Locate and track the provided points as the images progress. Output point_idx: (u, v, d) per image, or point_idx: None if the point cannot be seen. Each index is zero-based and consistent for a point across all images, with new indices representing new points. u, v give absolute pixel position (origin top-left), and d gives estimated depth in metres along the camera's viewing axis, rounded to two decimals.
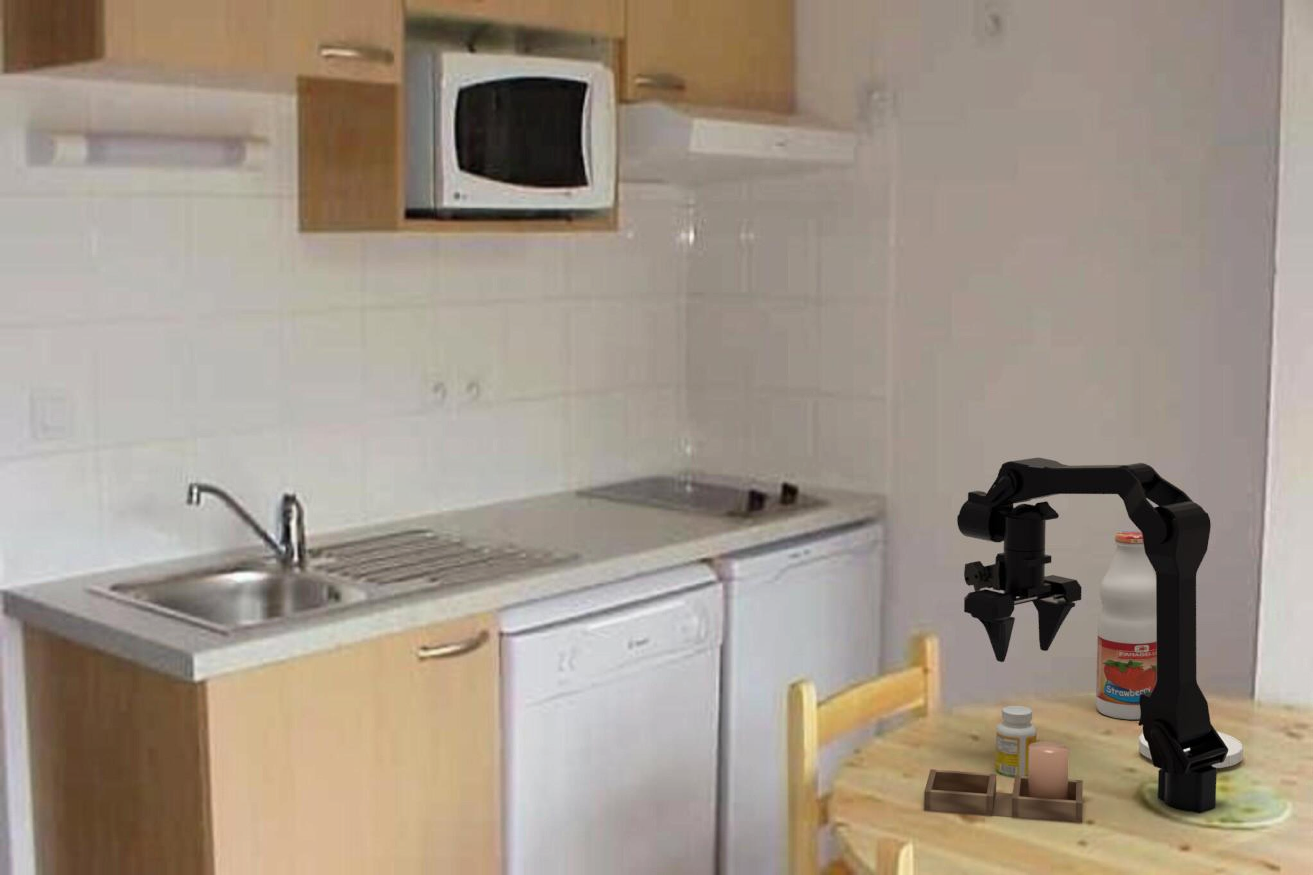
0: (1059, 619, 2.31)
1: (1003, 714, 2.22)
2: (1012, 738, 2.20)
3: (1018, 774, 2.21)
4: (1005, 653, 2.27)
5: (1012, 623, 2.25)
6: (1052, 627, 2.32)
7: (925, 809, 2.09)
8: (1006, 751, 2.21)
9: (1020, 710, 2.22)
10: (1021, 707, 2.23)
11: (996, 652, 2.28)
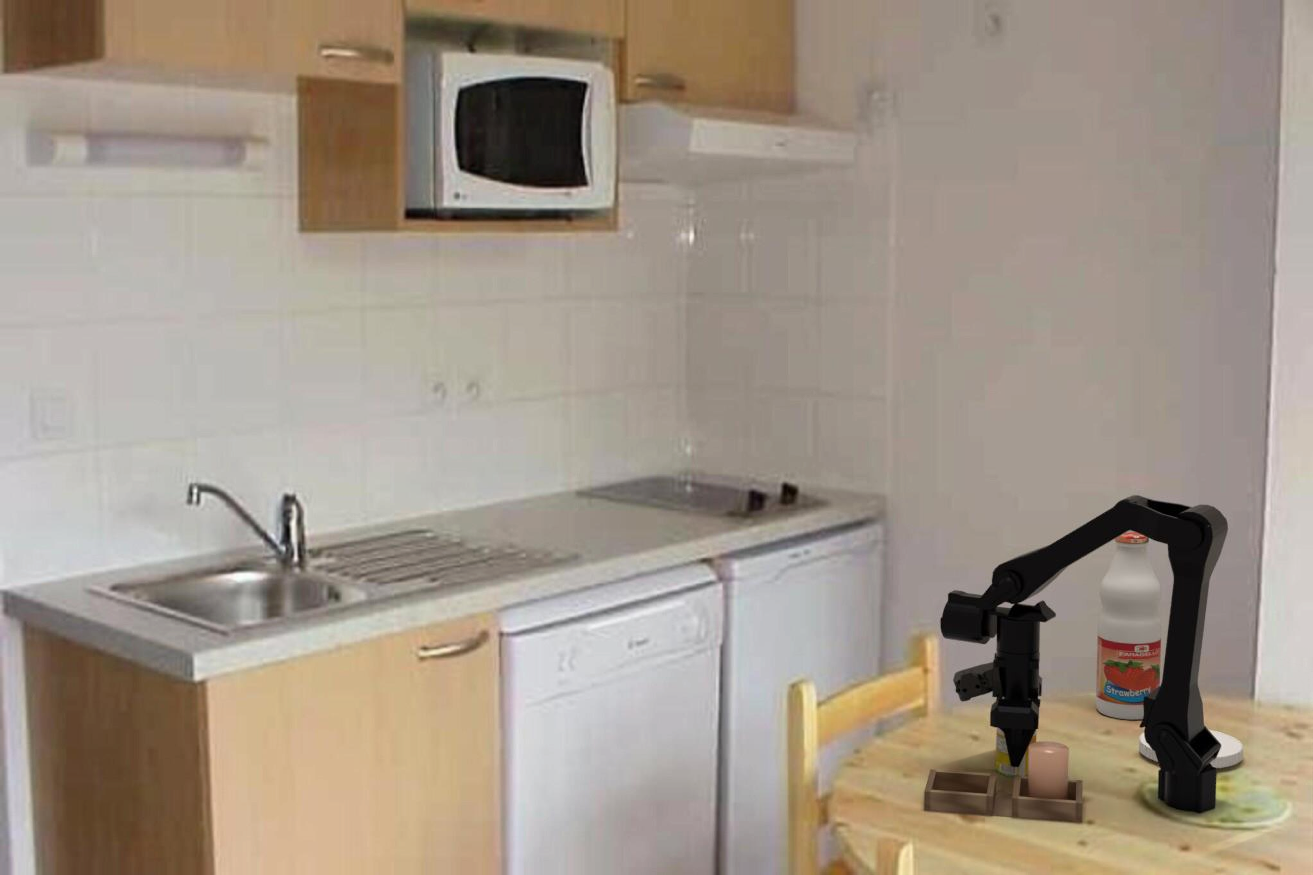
0: None
1: None
2: None
3: (1018, 774, 2.21)
4: (1022, 757, 2.20)
5: None
6: None
7: (925, 809, 2.09)
8: (1006, 751, 2.21)
9: None
10: None
11: (1013, 758, 2.20)
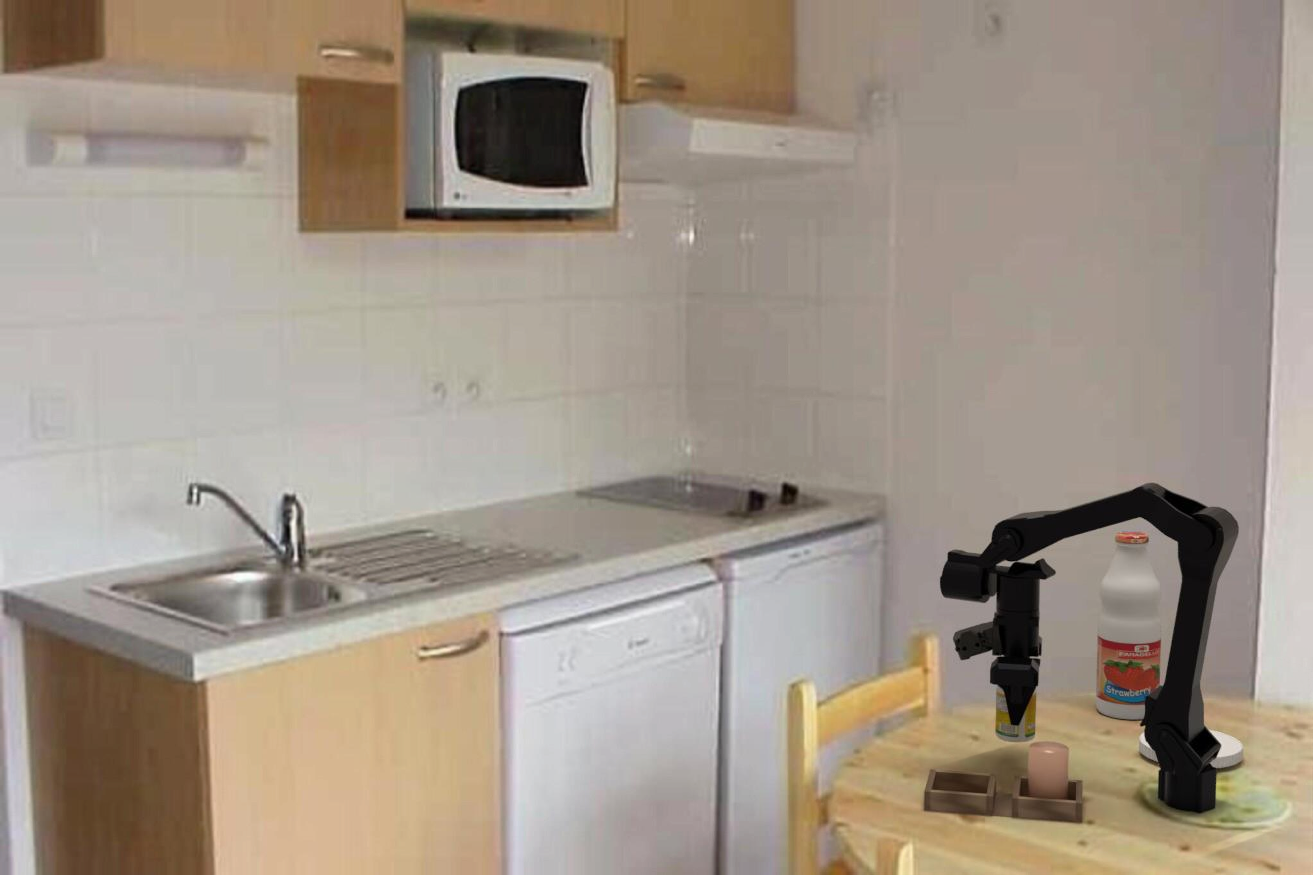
0: None
1: None
2: None
3: (1018, 733, 2.20)
4: (1022, 716, 2.19)
5: None
6: None
7: (925, 809, 2.09)
8: (1005, 710, 2.20)
9: None
10: None
11: (1013, 716, 2.19)
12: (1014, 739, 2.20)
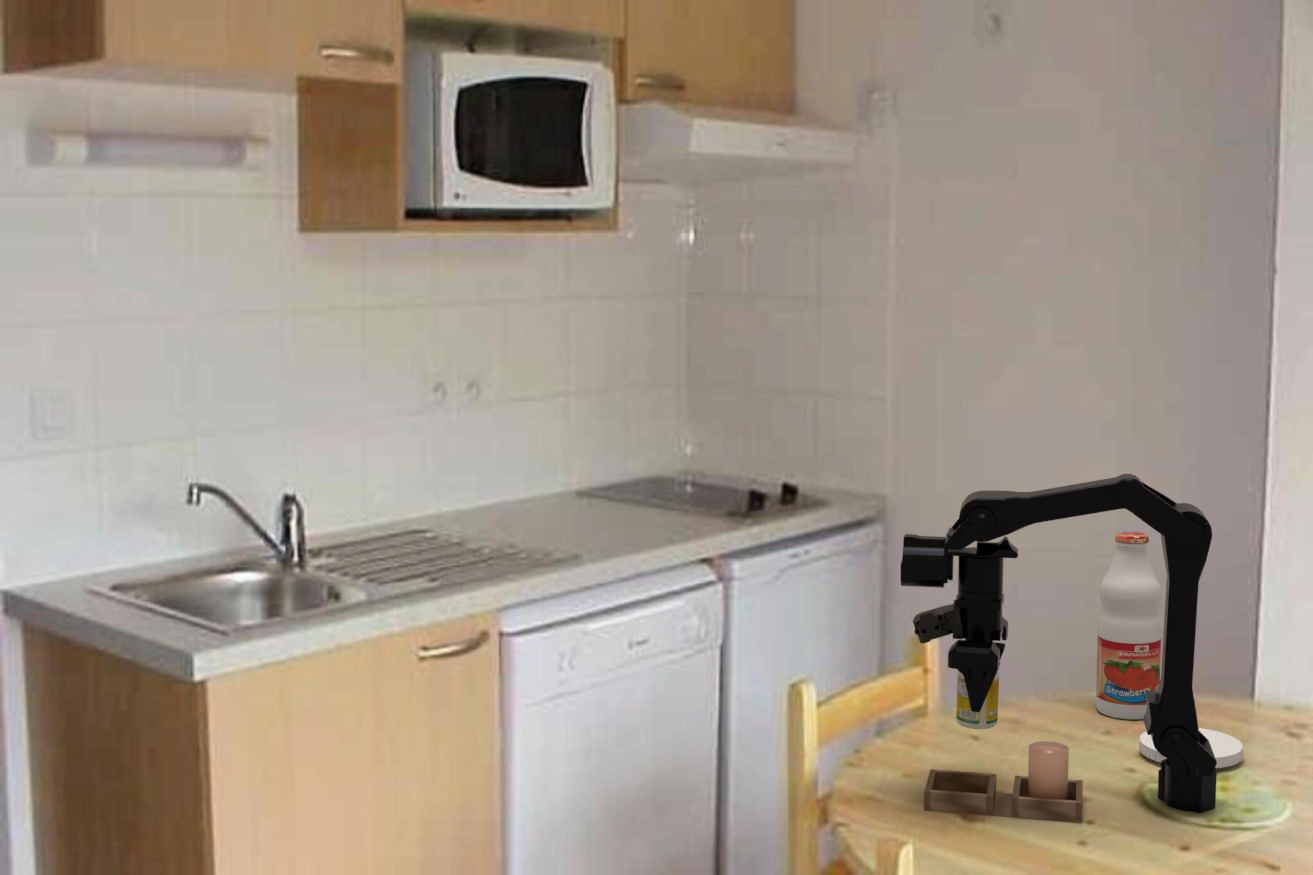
0: None
1: None
2: None
3: (979, 719, 2.12)
4: (983, 702, 2.11)
5: None
6: None
7: (925, 809, 2.09)
8: (966, 695, 2.12)
9: None
10: None
11: (973, 702, 2.11)
12: (975, 726, 2.12)
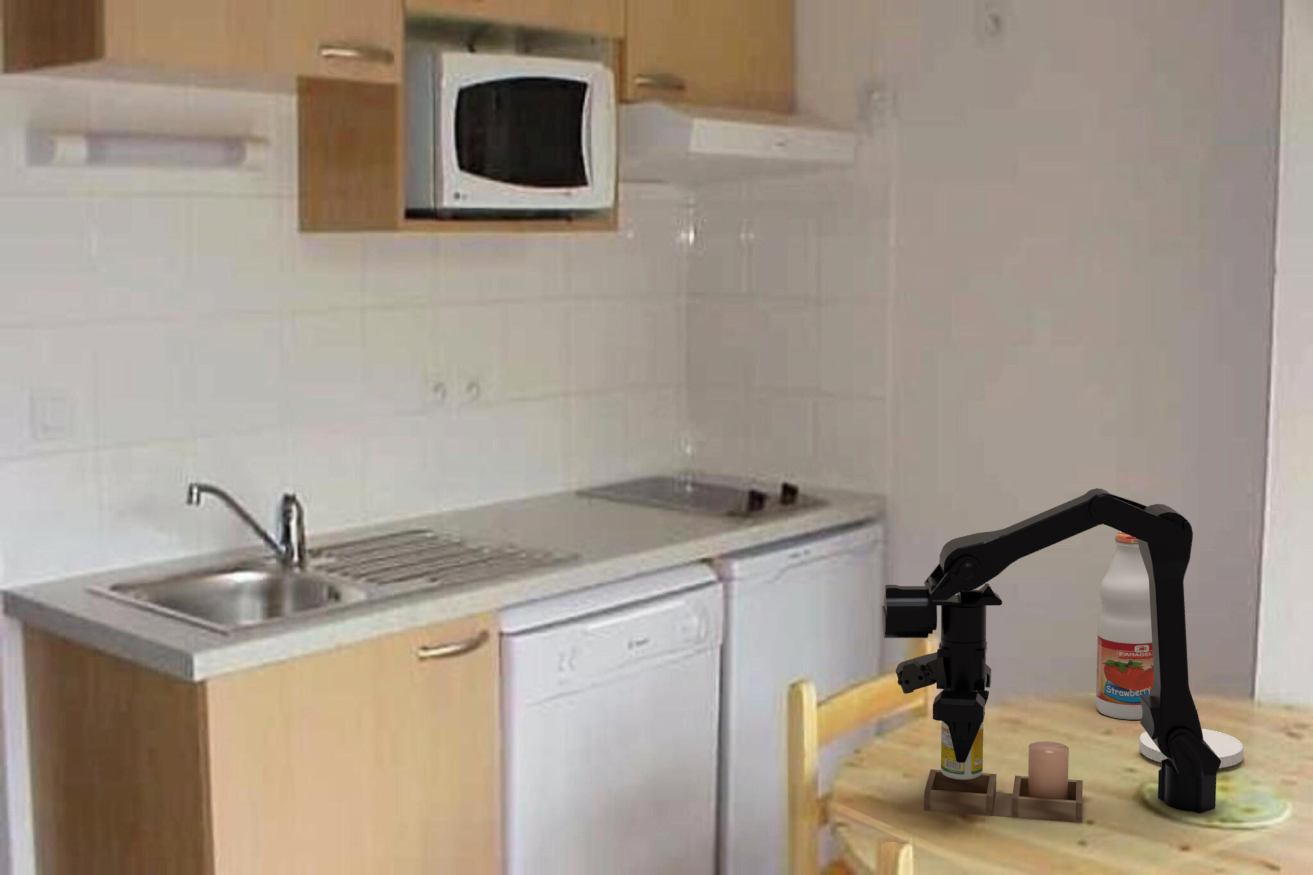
0: None
1: None
2: None
3: (964, 770, 2.09)
4: None
5: None
6: None
7: (925, 809, 2.09)
8: (951, 745, 2.09)
9: None
10: None
11: (958, 753, 2.08)
12: (960, 776, 2.09)
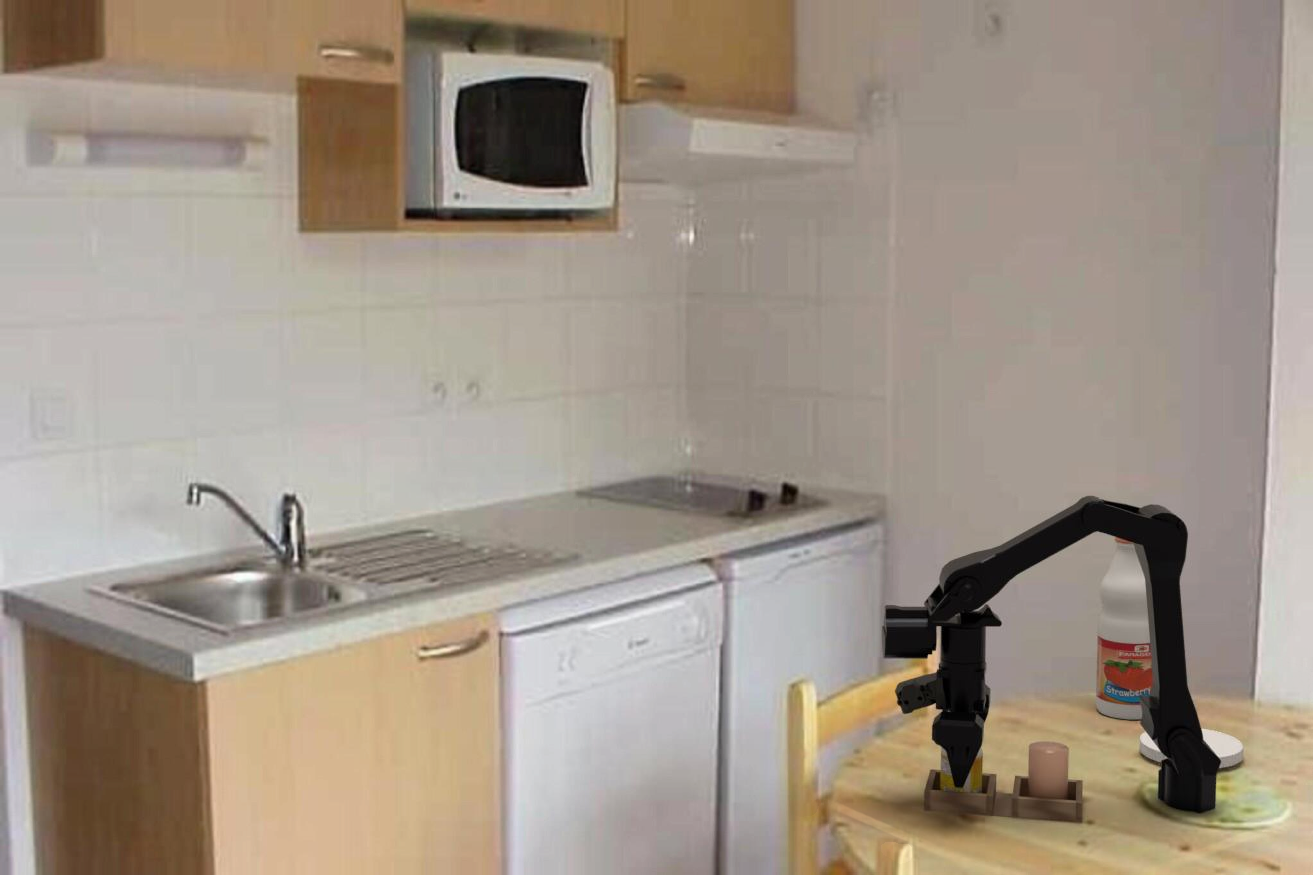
0: None
1: None
2: None
3: None
4: None
5: None
6: None
7: (925, 809, 2.09)
8: (950, 773, 2.09)
9: None
10: None
11: (956, 778, 2.06)
12: None
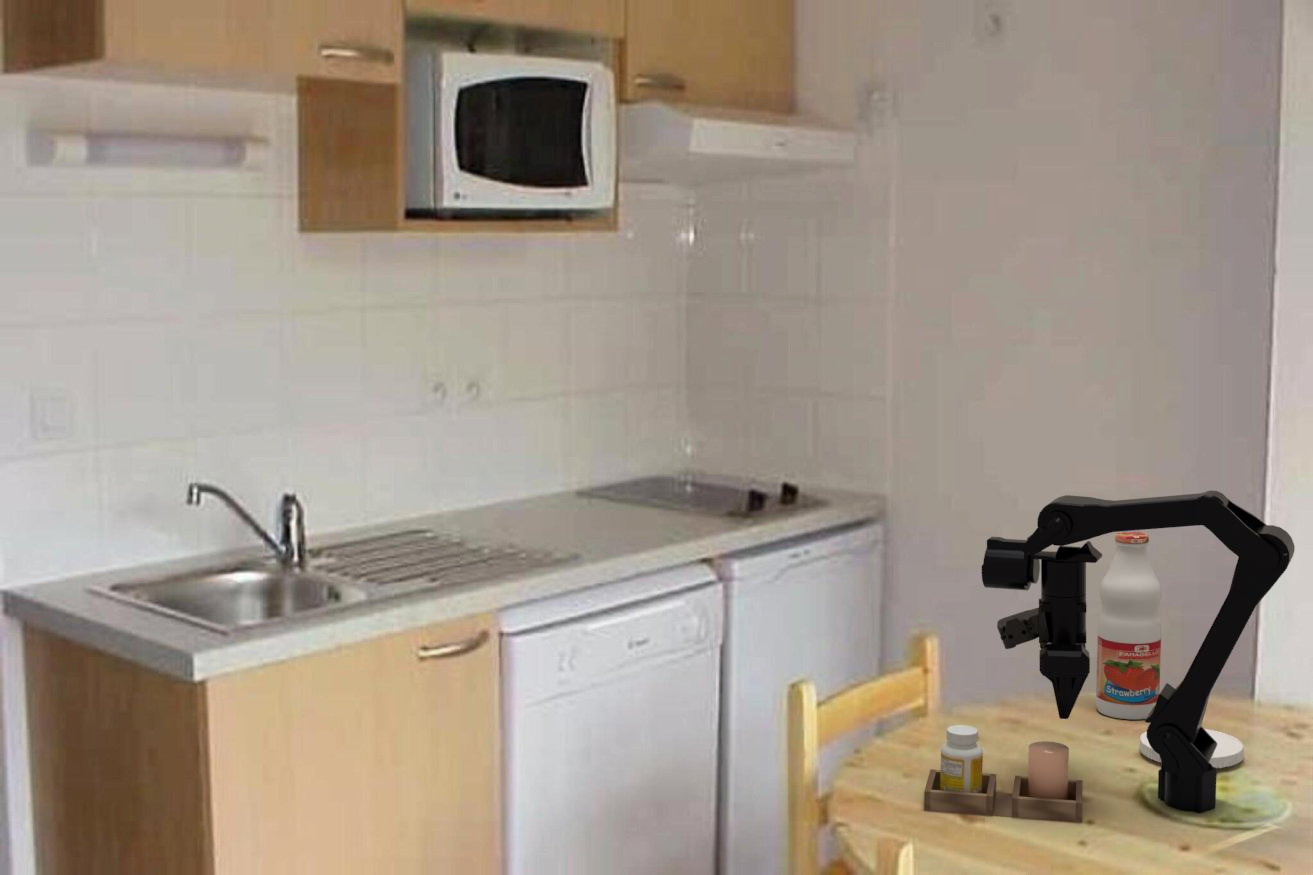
0: None
1: (947, 734, 2.10)
2: (956, 760, 2.09)
3: None
4: (1072, 708, 2.11)
5: None
6: None
7: (925, 809, 2.09)
8: (950, 773, 2.09)
9: (965, 730, 2.10)
10: (967, 727, 2.12)
11: (1062, 709, 2.11)
12: None
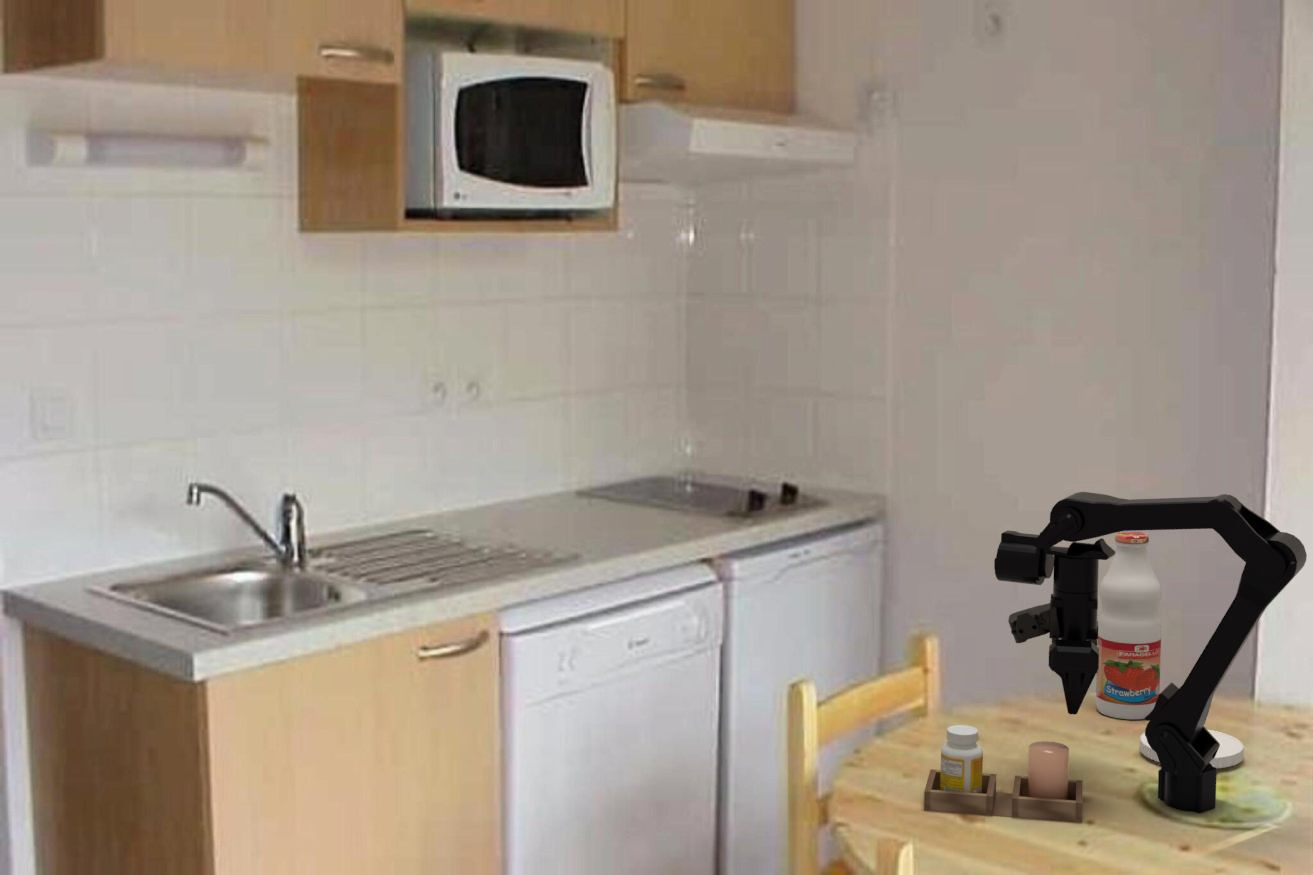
0: None
1: (948, 734, 2.10)
2: (956, 760, 2.09)
3: None
4: (1080, 704, 2.11)
5: None
6: None
7: (925, 809, 2.09)
8: (950, 773, 2.09)
9: (966, 730, 2.10)
10: (967, 727, 2.12)
11: (1070, 705, 2.11)
12: None
